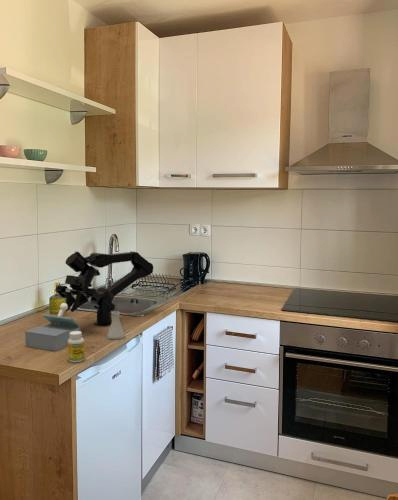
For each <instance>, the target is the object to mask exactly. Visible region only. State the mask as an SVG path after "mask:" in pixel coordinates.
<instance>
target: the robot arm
mask: <svg viewBox="0 0 398 500" xmlns="http://www.w3.org/2000/svg"><path fill="white" fill-rule="evenodd" d="M124 262H125V263H126V262H131V265H132V269H131V271H130V272H128V273H127V274H126V275H124V276H123V277H121V278H120V279H119V280H117V281H116V282H114V283H113V284H111V285H110V286H109V287H107V288H104V287H101V286H100V287H99V288H98V289H96V288H92V287H93V285H92V282H93V279H94V278H95V277H99V276H101V272H100V271H99V268H100V269H101V268H105V267H108V266H110V265H111V264H119V263H124ZM65 265H66V266H68V267H69V268H70V269H71V270H73V271H74V272H76V273H79V274H78V275H77V276H76V275H66V277H65V281H64V284H66V285H67V284H68V285H69V287H70V288H68V286H66V285H63V284H62V285H61V284H60V285H56V288H55V289H54V291H55V292H56V294H57V295H59V297H61V298H63V299H65V303H66V304H67V305H68V308H67V310H65V311H64V312H68V311H69V310H70V312H71V313H74V312H75V311H76V310H77V309H79V308H80V307H82V306H83V305H85V304H86V303H89V302H90V304H91V305H92V306H93V309H95V310H96V322H93V323H94V325H98V326H104V327H108V326H111V323H112V312H114V311H115V308H116V305H115V304H114V303H113V300H114V298H115V297H116V296H117V295H118V294H120V293H121V292H123V291H124V290H125V289H127V288H128V287H129V286H131V285H132V284H134V283H135V282H136V281H138V280H139V279H140V280H141V279H143V278H146V277H148V276H150V275H152V274H153V272H154V265H153V263H151V262H149V260H147V258H144V257H143V256H142V255H141V254H140V253H139V252H137V251H126V252H117V253H100V252H92V253H90V254H89V256H85V257H84V256H83V255H82V254H81V253H80V252H79V251H74V253H72V254H70V255H69V256H68V257H67V259H66V260H65ZM95 267H96V268H97V269H96V268H95ZM89 299H90V300H89Z"/></svg>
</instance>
